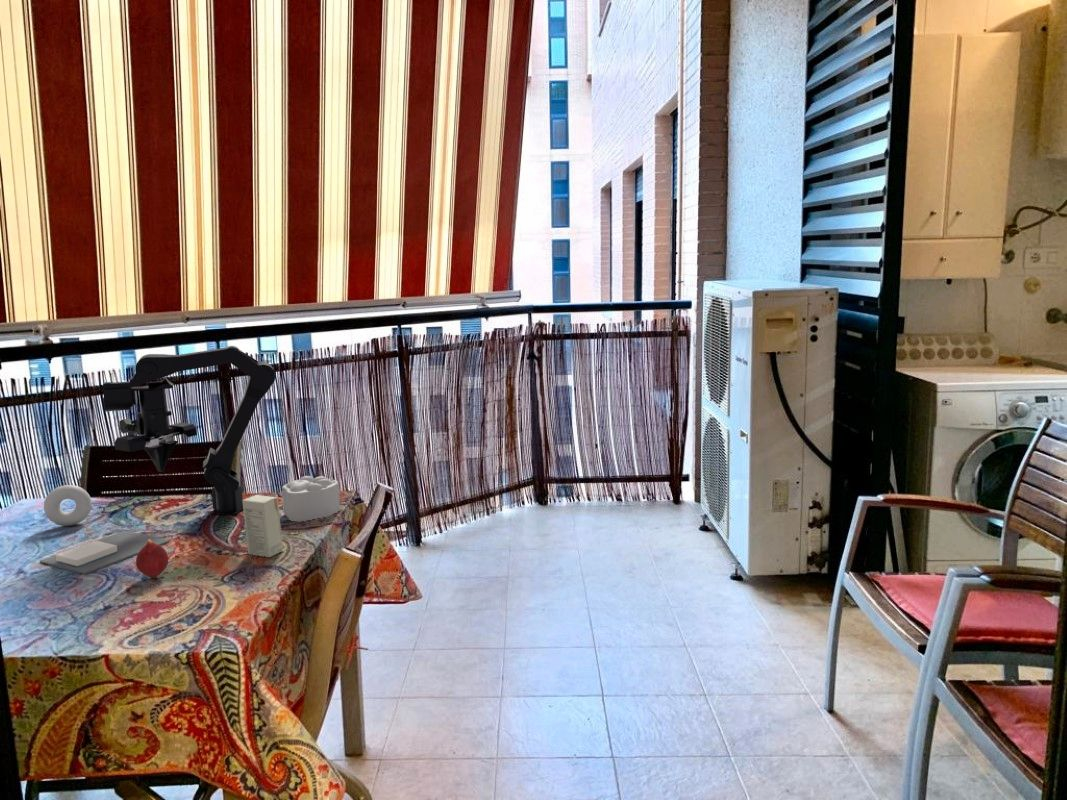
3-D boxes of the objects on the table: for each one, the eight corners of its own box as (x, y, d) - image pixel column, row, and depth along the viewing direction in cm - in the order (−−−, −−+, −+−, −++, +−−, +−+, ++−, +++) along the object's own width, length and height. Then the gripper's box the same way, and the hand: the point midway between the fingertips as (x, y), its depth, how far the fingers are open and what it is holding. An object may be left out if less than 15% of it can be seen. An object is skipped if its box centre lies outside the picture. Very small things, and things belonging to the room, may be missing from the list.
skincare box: (283, 551, 171) (279, 496, 169) (269, 558, 167) (264, 502, 165) (261, 547, 174) (256, 493, 171) (246, 554, 170) (241, 499, 168)
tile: (95, 540, 174) (55, 554, 166) (116, 545, 171) (76, 560, 163) (96, 547, 174) (56, 561, 166) (117, 552, 171) (77, 567, 163)
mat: (125, 532, 185) (125, 530, 184) (169, 541, 178) (169, 540, 178) (39, 562, 167) (39, 560, 167) (85, 574, 160) (84, 572, 160)
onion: (176, 573, 160) (172, 536, 158) (154, 585, 155) (150, 546, 153) (153, 570, 162) (149, 533, 160) (131, 581, 157) (126, 543, 155)
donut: (94, 519, 194) (89, 480, 192) (94, 524, 190) (89, 484, 189) (47, 526, 189) (41, 486, 187) (45, 531, 186) (40, 490, 184)
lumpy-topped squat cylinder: (281, 512, 197) (278, 478, 195) (333, 503, 204) (331, 470, 202) (292, 524, 188) (289, 489, 187) (345, 514, 195) (343, 480, 193)
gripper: (164, 398, 200) (170, 458, 203) (95, 412, 184) (103, 477, 186) (195, 401, 195) (201, 463, 198) (127, 416, 179) (134, 483, 181)
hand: (160, 471), depth 191 cm, fingers closed
